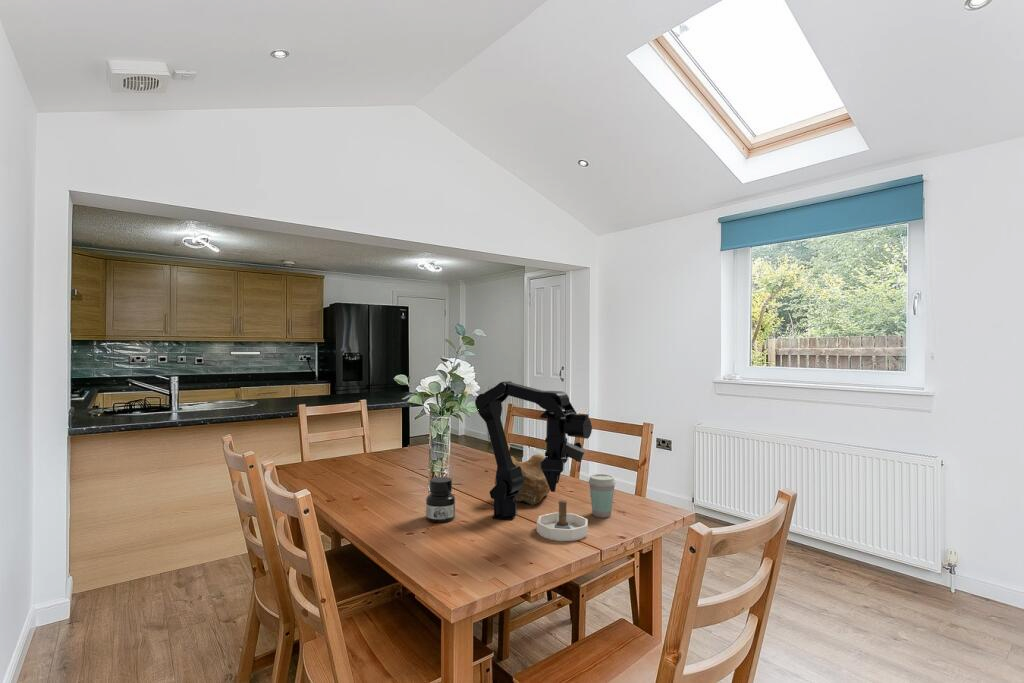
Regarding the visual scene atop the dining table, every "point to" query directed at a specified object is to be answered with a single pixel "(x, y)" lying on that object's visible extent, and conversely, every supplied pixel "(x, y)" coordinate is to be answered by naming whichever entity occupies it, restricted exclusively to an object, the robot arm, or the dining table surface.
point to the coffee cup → (601, 494)
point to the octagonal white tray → (562, 527)
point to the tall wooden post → (562, 512)
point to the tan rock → (532, 480)
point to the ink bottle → (440, 500)
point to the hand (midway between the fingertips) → (554, 487)
